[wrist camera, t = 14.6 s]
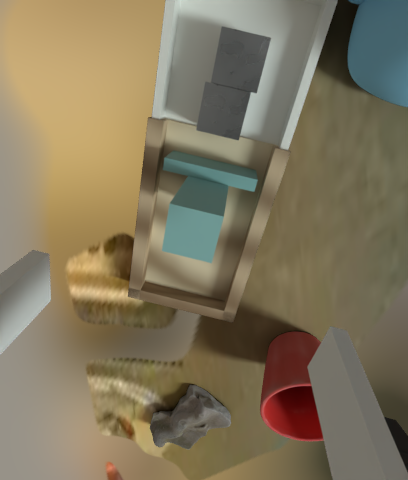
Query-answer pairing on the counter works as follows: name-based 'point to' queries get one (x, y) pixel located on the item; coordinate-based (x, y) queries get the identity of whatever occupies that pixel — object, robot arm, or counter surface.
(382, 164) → the counter surface
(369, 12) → the teapot
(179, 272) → the slot board
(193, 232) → the rake tool
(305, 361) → the flower pot
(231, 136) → the block
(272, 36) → the tray
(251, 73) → the block
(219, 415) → the stone
